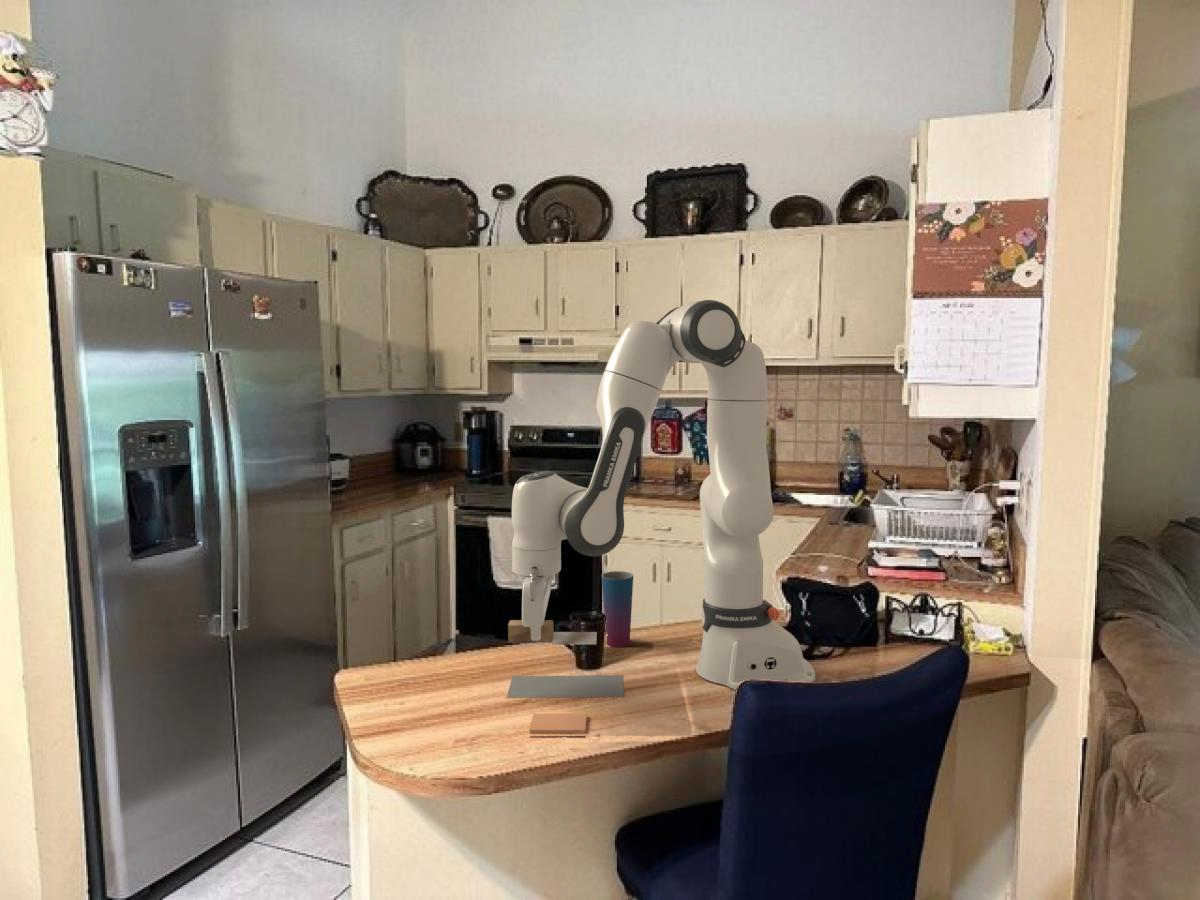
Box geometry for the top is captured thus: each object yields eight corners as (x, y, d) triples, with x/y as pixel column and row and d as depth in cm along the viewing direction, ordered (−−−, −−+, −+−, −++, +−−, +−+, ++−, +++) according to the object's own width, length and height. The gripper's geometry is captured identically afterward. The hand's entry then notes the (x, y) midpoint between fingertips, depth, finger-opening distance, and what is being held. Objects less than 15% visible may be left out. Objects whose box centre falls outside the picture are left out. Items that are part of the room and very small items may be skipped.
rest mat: (622, 679, 155) (622, 675, 154) (624, 700, 145) (624, 696, 144) (512, 680, 155) (512, 676, 154) (506, 702, 145) (506, 697, 145)
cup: (634, 638, 177) (634, 571, 176) (632, 649, 171) (632, 579, 169) (603, 637, 178) (603, 570, 176) (600, 648, 171) (599, 579, 170)
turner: (507, 644, 146) (507, 627, 146) (510, 635, 151) (510, 618, 151) (596, 644, 146) (596, 627, 146) (596, 635, 151) (596, 618, 151)
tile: (533, 723, 137) (586, 723, 137) (529, 740, 131) (585, 740, 131) (533, 713, 137) (586, 713, 136) (529, 729, 131) (585, 729, 130)
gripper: (550, 576, 137) (550, 655, 138) (556, 548, 157) (557, 618, 158) (512, 576, 137) (513, 655, 138) (524, 548, 157) (525, 618, 158)
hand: (537, 635), depth 148 cm, fingers closed on turner, 3 cm apart
